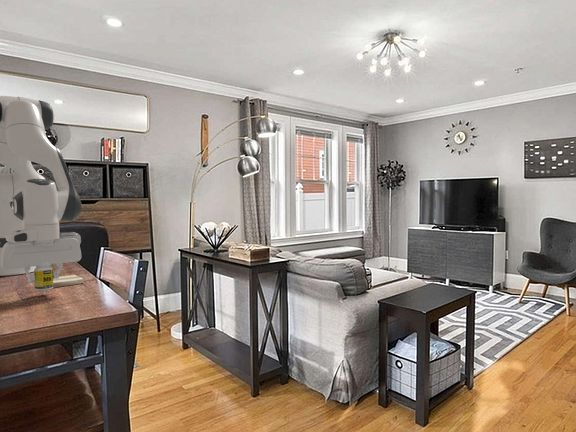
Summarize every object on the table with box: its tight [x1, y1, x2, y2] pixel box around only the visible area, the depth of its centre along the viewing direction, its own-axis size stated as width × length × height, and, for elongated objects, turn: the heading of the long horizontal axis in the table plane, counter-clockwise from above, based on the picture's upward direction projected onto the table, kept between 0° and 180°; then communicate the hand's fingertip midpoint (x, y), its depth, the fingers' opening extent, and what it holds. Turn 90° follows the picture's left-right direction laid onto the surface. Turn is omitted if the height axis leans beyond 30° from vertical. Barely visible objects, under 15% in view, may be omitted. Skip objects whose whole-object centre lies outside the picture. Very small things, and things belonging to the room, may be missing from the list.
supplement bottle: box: [33, 262, 54, 292], centre depth 117 cm, size 5×5×8 cm
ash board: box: [52, 273, 85, 289], centre depth 134 cm, size 12×11×2 cm
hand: (43, 279), depth 117 cm, fingers closed on supplement bottle, 5 cm apart
